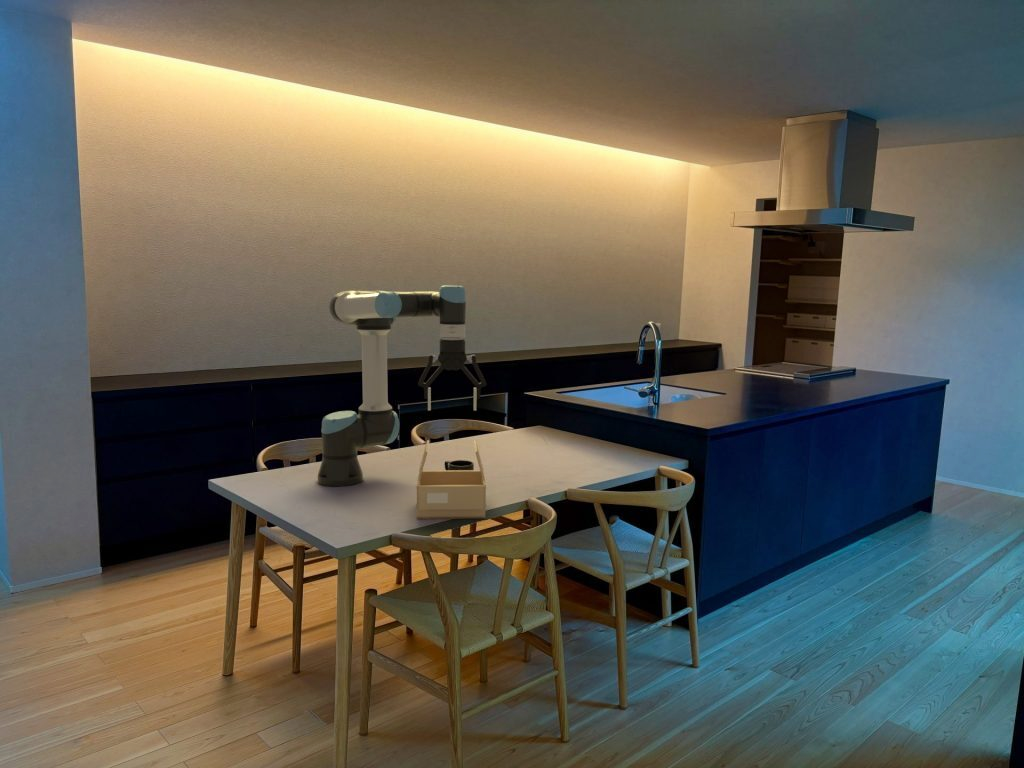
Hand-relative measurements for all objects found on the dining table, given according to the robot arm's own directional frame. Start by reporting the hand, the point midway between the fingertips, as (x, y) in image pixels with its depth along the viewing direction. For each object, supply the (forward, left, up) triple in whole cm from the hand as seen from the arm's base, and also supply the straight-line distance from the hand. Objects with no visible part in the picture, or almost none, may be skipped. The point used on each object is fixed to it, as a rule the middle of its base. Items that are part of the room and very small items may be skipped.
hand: (452, 409), depth 218 cm
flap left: (-10, 0, -20) cm, 23 cm away
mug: (+2, +21, -31) cm, 37 cm away
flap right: (+10, 0, -20) cm, 22 cm away
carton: (0, 0, -31) cm, 31 cm away
